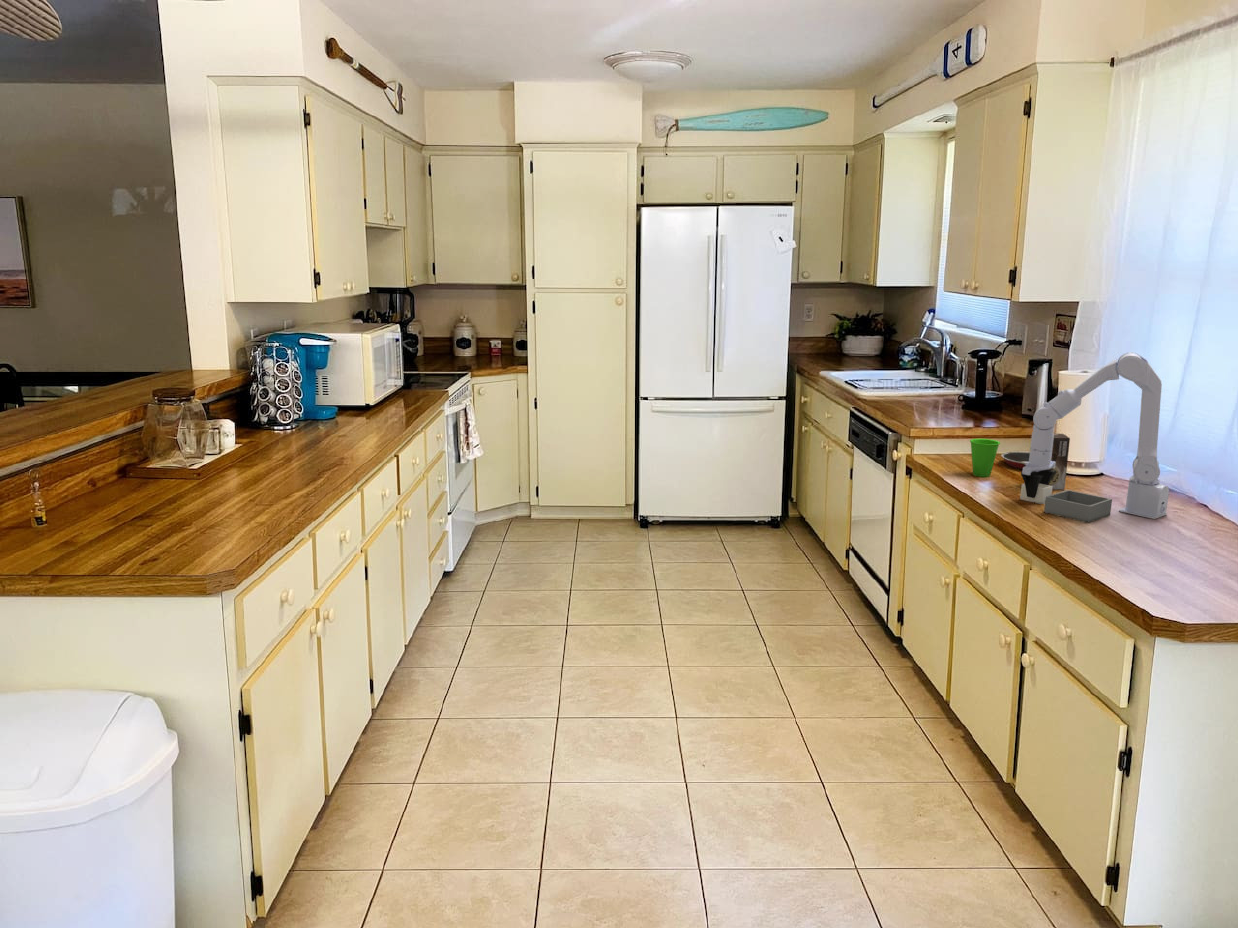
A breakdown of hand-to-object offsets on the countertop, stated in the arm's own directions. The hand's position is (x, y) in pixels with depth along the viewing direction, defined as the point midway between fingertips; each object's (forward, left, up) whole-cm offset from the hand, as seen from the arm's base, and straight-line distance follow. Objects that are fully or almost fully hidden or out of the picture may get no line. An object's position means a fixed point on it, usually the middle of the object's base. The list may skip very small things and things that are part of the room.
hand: (1035, 495), depth 267 cm
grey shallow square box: (-14, +4, -1) cm, 15 cm away
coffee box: (+6, -17, -2) cm, 18 cm away
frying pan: (+18, -35, -2) cm, 39 cm away
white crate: (0, 0, -1) cm, 1 cm away
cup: (+26, -15, -2) cm, 30 cm away
